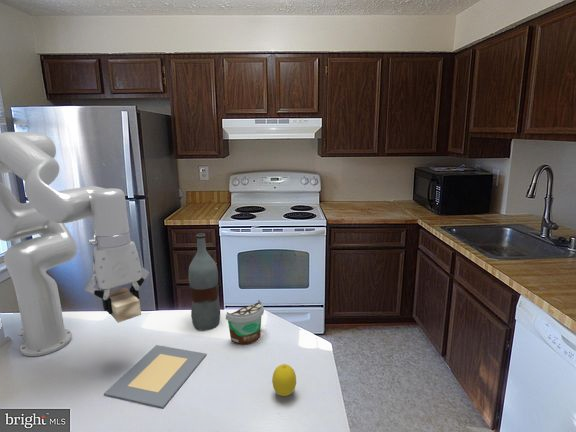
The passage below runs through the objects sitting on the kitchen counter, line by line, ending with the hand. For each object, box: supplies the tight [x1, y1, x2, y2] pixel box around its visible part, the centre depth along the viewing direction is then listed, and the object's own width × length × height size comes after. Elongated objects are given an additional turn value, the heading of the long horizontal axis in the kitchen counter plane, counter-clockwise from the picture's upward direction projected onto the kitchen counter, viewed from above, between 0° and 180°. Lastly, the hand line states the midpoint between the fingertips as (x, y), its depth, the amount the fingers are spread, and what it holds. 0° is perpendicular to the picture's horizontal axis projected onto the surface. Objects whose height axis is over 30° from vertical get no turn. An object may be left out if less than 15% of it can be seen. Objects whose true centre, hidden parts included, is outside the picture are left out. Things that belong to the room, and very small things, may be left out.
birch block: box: [109, 286, 142, 324], centre depth 88 cm, size 6×10×4 cm, turn 43°
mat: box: [103, 344, 208, 410], centre depth 89 cm, size 16×20×1 cm
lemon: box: [271, 363, 297, 397], centre depth 81 cm, size 6×6×8 cm
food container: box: [225, 299, 265, 346], centre depth 102 cm, size 12×6×10 cm, turn 131°
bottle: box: [187, 233, 221, 331], centre depth 109 cm, size 9×9×30 cm
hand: (122, 307), depth 89 cm, fingers closed on birch block, 5 cm apart
